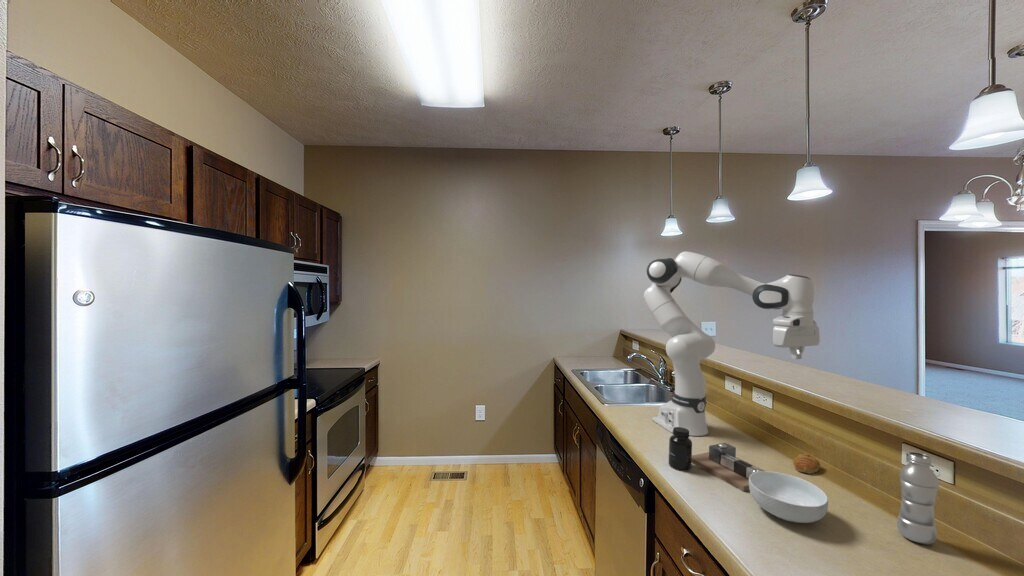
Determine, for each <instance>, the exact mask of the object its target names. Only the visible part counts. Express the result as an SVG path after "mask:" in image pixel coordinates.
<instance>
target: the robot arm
mask: <svg viewBox="0 0 1024 576" xmlns="http://www.w3.org/2000/svg"><path fill="white" fill-rule="evenodd" d="M646 267H647V268H646V275H647V277H648V279H649V280H650V282H651V285H650V286H649V287H647V289H645V291H644V293H643V300H644V302H645V304H646V306H647V308H648V310H649V312H650V313H651V315H652V316H653V318H654V319H655V321H656V322H657V324H658V325H659V327H660V328H661V330H662V331H663V332H665V333H667V334H668V335H670V336H671V338H669V340H668V341H667V342H666V344H665V352H666V354H667V357H668V358H669V359H670V360H671V363H672V366H673V370H674V391H673V392H670V393H669V397H671V396H672V397H671V400H669V401H667V402H666V403H664V404H662V405H661V406H659V408H658V411H657V412H658V414H657V415H654V416H652V418H651V420H652V421H653V422H655V423H656V424H657V425H659V426H660V427H662V428H664V429H665V430H667V431H668V432H670V433H672V434H673V428H674V427H682V428H685V429H687V430H689V436H693V437H694V436H695V437H696V436H697V437H700V436H701V437H702V436H706V435H708V434H709V429H708V424H707V416H706V406H707V396H705V395H706V394H705V393H706V377H705V375H704V373H703V372H702V369H701V363H700V361H701V360H704V359H706V358H708V357H710V356H711V355H712V354H713V353H714V352H715V349H716V343H715V340H714V338H713V337H712V336H711V335H709V334H707V333H705V332H704V331H703V330H702V329H700V327H698V326H697V324H696V323H695V322H693V321H692V320H691V319H690V318H689V317H688V315H686V314H685V313H684V311H683V309H682V308H681V306H680V305H679V304H678V303H677V302H676V300H675V298H674V297H673V295H672V293H673V292H674V291H675V289H677V287H678V286H680V284H681V283H682V278H687V279H688V280H689V279H690V280H692V281H694V282H696V283H699V284H701V285H706V286H709V287H719V288H720V287H721V288H728V289H733V290H736V291H739V292H742V293H744V294H747V295H749V296H752V297H751V299H752V301H753V303H754V304H755V305H756V306H757V307H758V308H760V309H763V310H781V309H782V314H780V315H778V316H777V317H774V318H773V319H772V324H773V325H774V327H773V330H772V342H773V343H772V344H773V345H774V347H775V348H782V349H785V348H786V349H787V348H788V351H789V352H790V358H791V359H792V360H801V359H802V358H803V357H802V356H803V353H804V351H805V347H813V346H814V347H815V346H819V345H820V342H821V341H820V340H821V339H820V329H819V326H818V323H817V322H816V320H814V308H813V305H814V301H815V286H814V283H813V282H814V281H813V280H812V279H811V278H810V277H808V276H804V275H800V274H799V275H798V274H789V273H788V274H786V275H785V276H784V277H781V278H779V279H776V280H773V281H771V282H767V283H766V282H762V281H758V280H756V279H754V278H751V277H748V276H746V275H743V274H741V273H738V272H737V271H735V270H733V269H732V268H730V267H728V266H726V265H725V264H723V263H722V262H720V261H718V260H716V259H713V258H711V257H709V256H708V255H704V254H700V253H697V252H693V251H692V252H691V251H682V252H680V253H679V254H678V255H677V256H676V257H675V259H674V258H671V257H668V258H657V259H654V260H651V262H649V263H648V265H647V266H646Z"/></svg>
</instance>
